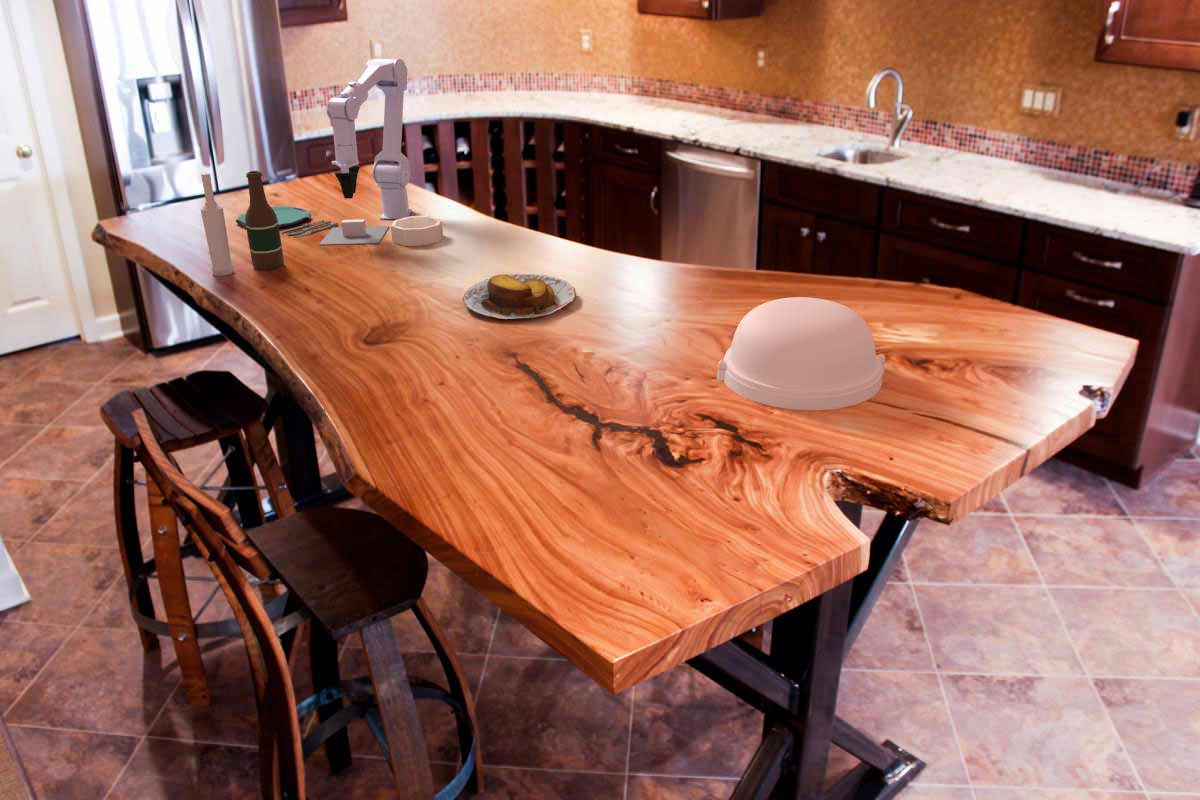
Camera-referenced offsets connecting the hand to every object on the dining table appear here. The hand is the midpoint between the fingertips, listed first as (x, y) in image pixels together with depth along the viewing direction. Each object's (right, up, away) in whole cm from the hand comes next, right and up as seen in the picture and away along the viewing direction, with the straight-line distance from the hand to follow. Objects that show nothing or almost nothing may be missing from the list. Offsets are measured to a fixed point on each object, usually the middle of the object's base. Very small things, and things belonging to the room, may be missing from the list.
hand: (350, 195), depth 285 cm
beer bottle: (-17, -21, -16) cm, 32 cm away
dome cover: (+106, -51, -85) cm, 145 cm away
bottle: (-27, -24, -21) cm, 41 cm away
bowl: (+18, -11, +2) cm, 21 cm away
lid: (0, -11, +6) cm, 12 cm away
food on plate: (+49, -34, -45) cm, 75 cm away
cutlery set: (-23, -5, +19) cm, 30 cm away
